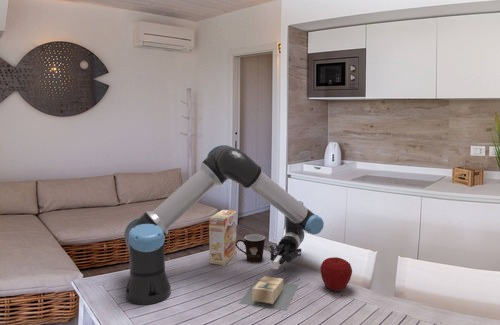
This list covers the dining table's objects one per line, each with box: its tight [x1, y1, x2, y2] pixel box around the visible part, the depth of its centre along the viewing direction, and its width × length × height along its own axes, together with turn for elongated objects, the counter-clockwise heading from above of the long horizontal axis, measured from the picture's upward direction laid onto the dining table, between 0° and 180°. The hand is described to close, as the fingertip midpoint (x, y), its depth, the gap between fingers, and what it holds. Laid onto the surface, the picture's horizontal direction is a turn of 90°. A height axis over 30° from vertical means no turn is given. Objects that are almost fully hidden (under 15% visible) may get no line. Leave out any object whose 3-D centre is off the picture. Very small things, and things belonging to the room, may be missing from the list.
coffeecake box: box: [208, 209, 237, 266], centre depth 174 cm, size 15×7×20 cm, turn 162°
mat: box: [238, 278, 300, 311], centre depth 141 cm, size 16×20×1 cm
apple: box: [319, 256, 353, 292], centre depth 145 cm, size 11×11×12 cm
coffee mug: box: [236, 234, 266, 264], centre depth 173 cm, size 12×9×10 cm
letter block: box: [252, 276, 284, 304], centre depth 138 cm, size 7×4×14 cm
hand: (275, 265), depth 144 cm, fingers closed
